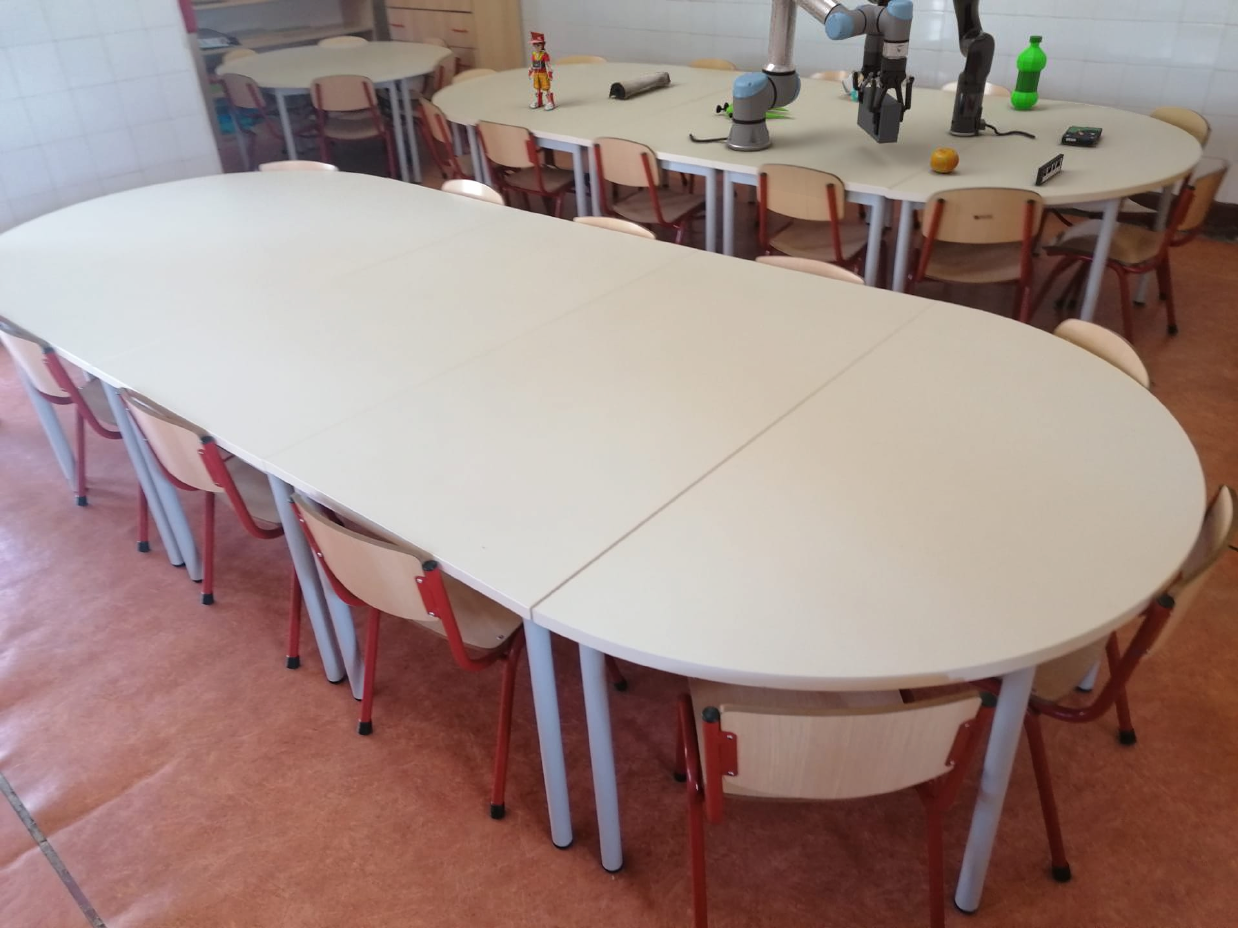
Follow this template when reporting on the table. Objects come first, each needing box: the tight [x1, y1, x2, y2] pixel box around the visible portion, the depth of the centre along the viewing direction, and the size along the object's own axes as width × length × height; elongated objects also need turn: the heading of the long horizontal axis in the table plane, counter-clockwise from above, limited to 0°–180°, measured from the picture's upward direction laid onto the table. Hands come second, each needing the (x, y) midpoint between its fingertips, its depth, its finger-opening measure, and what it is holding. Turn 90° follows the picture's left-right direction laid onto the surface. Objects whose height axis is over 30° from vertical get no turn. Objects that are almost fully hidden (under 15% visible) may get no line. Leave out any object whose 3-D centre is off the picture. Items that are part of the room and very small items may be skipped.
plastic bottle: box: [1010, 35, 1048, 111], centre depth 335 cm, size 10×10×25 cm
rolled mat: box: [608, 71, 672, 101], centre depth 395 cm, size 30×9×10 cm
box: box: [856, 85, 902, 145], centre depth 296 cm, size 25×6×12 cm, turn 3°
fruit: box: [929, 147, 960, 174], centre depth 283 cm, size 8×8×8 cm
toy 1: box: [527, 31, 556, 111], centre depth 374 cm, size 12×9×30 cm
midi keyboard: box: [1035, 153, 1065, 186], centre depth 273 cm, size 18×1×5 cm, turn 138°
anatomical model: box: [841, 72, 870, 102], centre depth 366 cm, size 15×10×10 cm
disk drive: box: [1060, 125, 1103, 147], centre depth 304 cm, size 10×3×15 cm
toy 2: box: [715, 101, 793, 119], centre depth 353 cm, size 28×5×30 cm
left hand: (885, 133), depth 290 cm, fingers closed on box, 6 cm apart
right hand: (870, 102), depth 303 cm, fingers closed on box, 6 cm apart
